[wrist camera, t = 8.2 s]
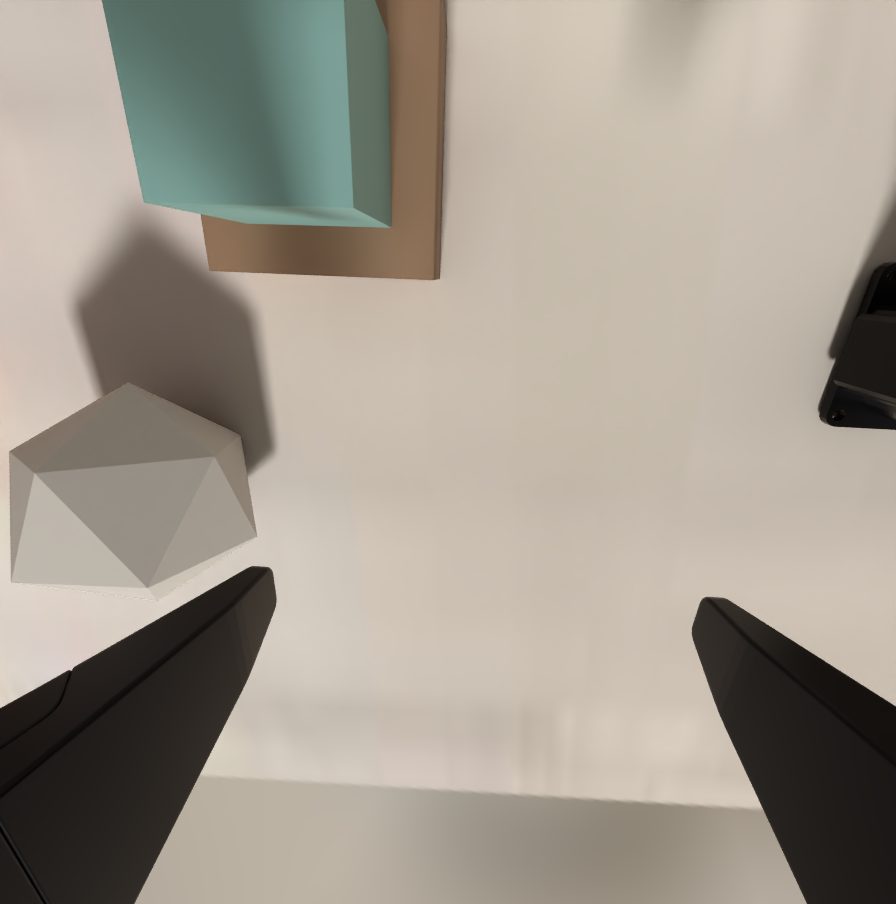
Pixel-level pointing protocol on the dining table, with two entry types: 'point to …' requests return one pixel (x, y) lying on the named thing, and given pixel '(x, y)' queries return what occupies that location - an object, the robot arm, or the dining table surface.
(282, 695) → the dining table surface
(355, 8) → the teal cube
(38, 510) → the die
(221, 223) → the walnut base
